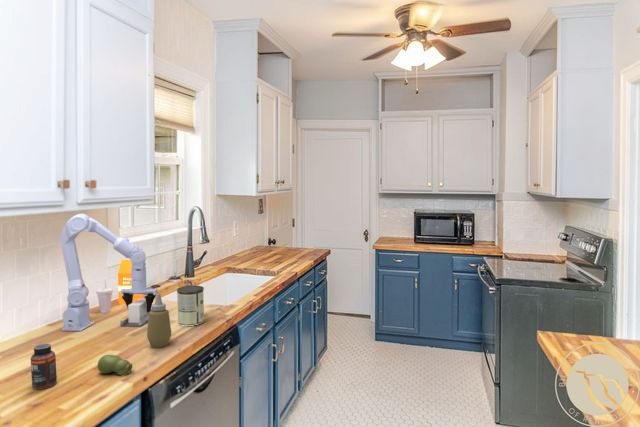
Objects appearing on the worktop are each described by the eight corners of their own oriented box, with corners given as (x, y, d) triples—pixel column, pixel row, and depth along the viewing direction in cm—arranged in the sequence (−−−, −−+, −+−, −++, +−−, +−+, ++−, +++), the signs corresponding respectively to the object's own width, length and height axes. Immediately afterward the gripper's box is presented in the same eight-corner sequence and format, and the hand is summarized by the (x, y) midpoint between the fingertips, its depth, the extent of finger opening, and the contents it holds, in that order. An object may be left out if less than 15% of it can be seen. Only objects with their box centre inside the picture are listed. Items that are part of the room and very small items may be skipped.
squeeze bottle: (142, 348, 149) (141, 297, 148) (154, 340, 157) (153, 291, 156) (164, 350, 148) (163, 298, 147) (175, 341, 156) (174, 291, 155)
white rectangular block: (139, 322, 174) (139, 305, 174) (128, 322, 175) (128, 305, 174) (150, 314, 184) (150, 298, 184) (140, 314, 185) (139, 298, 184)
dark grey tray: (140, 326, 171) (140, 321, 171) (120, 326, 172) (120, 320, 172) (157, 314, 187) (157, 309, 187) (139, 313, 188) (138, 308, 188)
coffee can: (178, 319, 180) (177, 286, 179) (204, 317, 183) (203, 284, 182) (176, 327, 170) (176, 292, 169) (204, 325, 173) (203, 290, 172)
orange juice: (137, 304, 202) (136, 261, 201) (118, 304, 202) (117, 261, 201) (144, 299, 210) (143, 258, 209) (125, 299, 210) (124, 258, 208)
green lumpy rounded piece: (105, 350, 134) (136, 356, 133) (103, 366, 134) (134, 373, 134) (94, 357, 128) (127, 364, 128) (92, 374, 129) (124, 381, 128)
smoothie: (106, 314, 187) (105, 282, 186) (93, 313, 188) (92, 281, 187) (116, 310, 193) (115, 278, 192) (103, 309, 194) (102, 278, 193)
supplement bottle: (58, 378, 127) (56, 340, 126) (55, 387, 121) (53, 348, 120) (34, 382, 124) (32, 343, 124) (29, 391, 119) (27, 351, 118)
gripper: (160, 277, 182) (161, 309, 183) (126, 276, 183) (127, 308, 184) (153, 281, 175) (153, 314, 176) (117, 280, 176) (118, 313, 177)
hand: (139, 311), depth 179 cm, fingers open, 7 cm apart
